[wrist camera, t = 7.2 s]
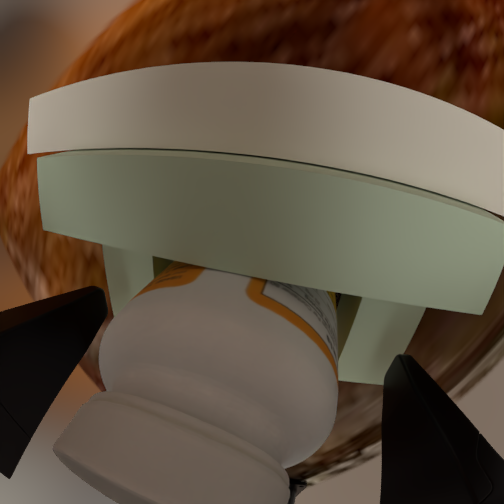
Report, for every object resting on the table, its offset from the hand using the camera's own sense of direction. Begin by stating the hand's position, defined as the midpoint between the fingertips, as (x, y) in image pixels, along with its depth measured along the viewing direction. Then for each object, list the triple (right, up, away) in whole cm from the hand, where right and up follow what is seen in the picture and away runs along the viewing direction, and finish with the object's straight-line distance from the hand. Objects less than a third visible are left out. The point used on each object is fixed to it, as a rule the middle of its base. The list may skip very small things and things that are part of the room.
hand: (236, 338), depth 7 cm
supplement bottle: (+1, +2, +4) cm, 5 cm away
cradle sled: (+1, +3, +3) cm, 4 cm away
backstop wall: (+2, +7, +2) cm, 7 cm away
